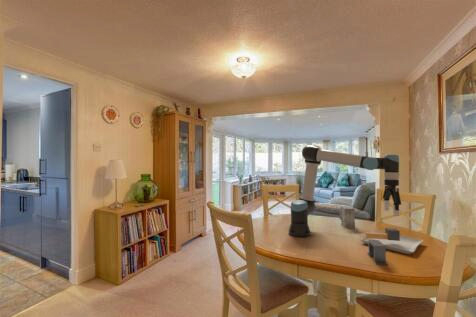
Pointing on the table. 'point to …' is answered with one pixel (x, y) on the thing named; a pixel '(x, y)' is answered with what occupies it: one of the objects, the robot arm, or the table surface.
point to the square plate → (398, 243)
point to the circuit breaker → (347, 217)
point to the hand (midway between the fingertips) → (391, 213)
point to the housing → (377, 252)
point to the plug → (385, 234)
